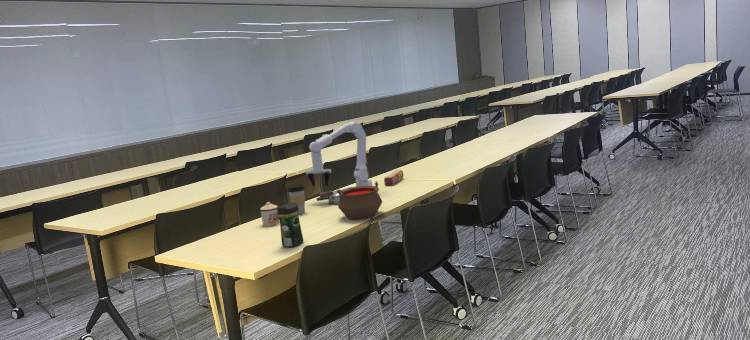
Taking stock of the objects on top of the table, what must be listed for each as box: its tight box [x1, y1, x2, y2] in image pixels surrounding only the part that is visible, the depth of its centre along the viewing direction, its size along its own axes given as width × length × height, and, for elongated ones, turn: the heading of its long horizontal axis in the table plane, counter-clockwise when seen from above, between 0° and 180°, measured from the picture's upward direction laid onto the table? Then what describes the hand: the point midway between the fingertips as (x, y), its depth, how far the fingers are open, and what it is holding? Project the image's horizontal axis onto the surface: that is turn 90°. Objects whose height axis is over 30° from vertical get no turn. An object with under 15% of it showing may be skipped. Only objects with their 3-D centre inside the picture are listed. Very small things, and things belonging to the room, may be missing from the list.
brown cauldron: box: [337, 180, 383, 221], centre depth 290 cm, size 24×24×16 cm
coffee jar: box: [277, 202, 304, 248], centre depth 253 cm, size 10×8×19 cm
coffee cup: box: [287, 184, 306, 216], centre depth 312 cm, size 9×9×15 cm
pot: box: [315, 196, 340, 206], centre depth 329 cm, size 22×13×4 cm, turn 103°
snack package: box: [383, 169, 404, 187], centre depth 368 cm, size 21×7×7 cm, turn 159°
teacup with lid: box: [259, 201, 280, 228], centre depth 296 cm, size 12×9×12 cm
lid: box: [318, 189, 340, 198], centre depth 327 cm, size 20×14×4 cm
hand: (320, 185), depth 330 cm, fingers open, 7 cm apart
